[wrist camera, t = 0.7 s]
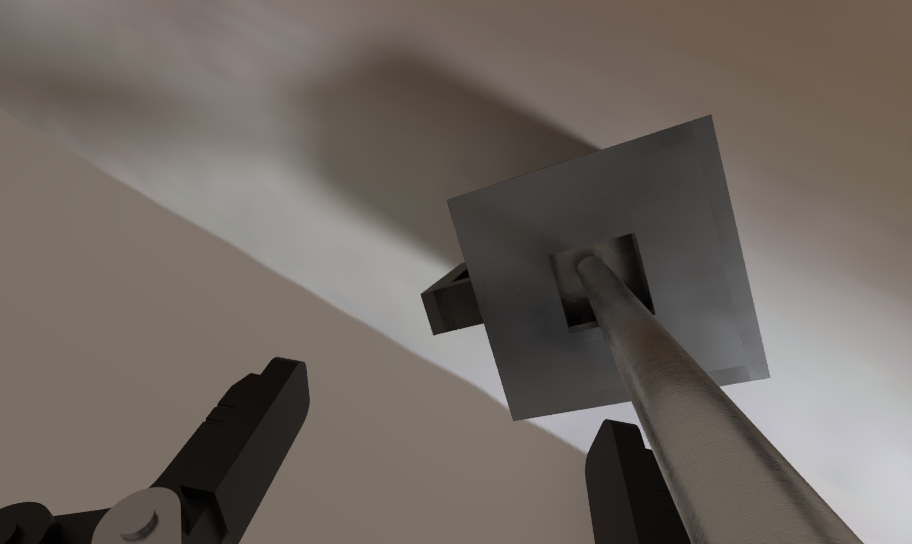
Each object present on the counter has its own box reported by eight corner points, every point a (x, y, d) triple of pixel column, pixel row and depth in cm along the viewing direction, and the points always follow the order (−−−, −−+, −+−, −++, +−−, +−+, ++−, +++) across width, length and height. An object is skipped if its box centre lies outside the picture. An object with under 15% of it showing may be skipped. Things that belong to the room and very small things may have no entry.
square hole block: (621, 160, 28) (711, 114, 13) (652, 283, 29) (770, 377, 14) (459, 211, 31) (375, 223, 16) (492, 321, 32) (442, 432, 17)
